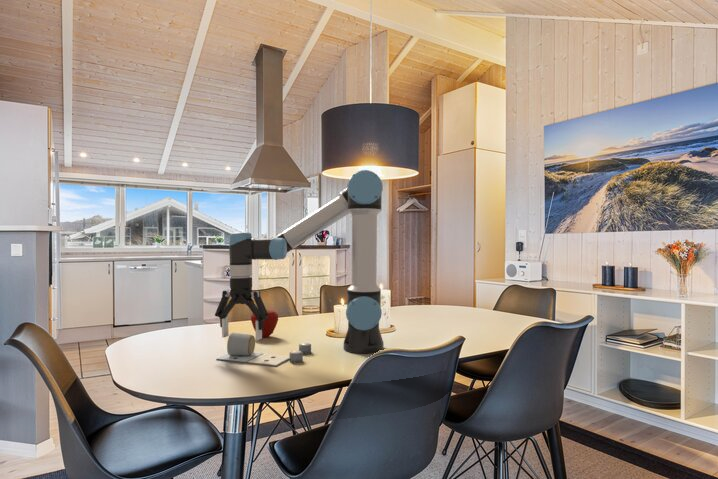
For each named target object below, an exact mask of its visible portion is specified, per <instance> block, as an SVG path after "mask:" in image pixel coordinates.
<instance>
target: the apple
mask: <svg viewBox="0 0 718 479" xmlns="http://www.w3.org/2000/svg"><path fill="white" fill-rule="evenodd" d="M266 310H267V312H268V315H269V317H268V318H266V319H264V329H262V339H265V338H266V339H267V338H269V337H270V336H271V335H272V334H273V333H274V331H275V329H276V327H277V324H278V321H279V314H278V313H277V312H276V311H274V310H270V309H269V310H268V309H266ZM257 320H258V319H257V318H256V317H255V315H254V314H253V313H252V314H251V315H250V321H251V324H252V327H253V330H254V331H255V333H256V321H257Z"/></svg>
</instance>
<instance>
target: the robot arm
mask: <svg viewBox="0 0 718 479" xmlns="http://www.w3.org/2000/svg"><path fill="white" fill-rule="evenodd" d="M383 187H384V186H383V181H382V180H381V177H379V175H378V174H377V173H375V172H374V171H373V170H369V169H362V170H358V171H356V172H354V173H353V174H352V175H351V176H350V177H349V179H348V181H347V184H346V187H345V188H344V189H342V190H341V191H340V192H339V195H338V196H337V197H335V198H334V199H332V200H331V201H329V202H328V203H326V204H324V205H323V206H321V207H320V208H318V209H316V210H314V212H312V213H310V214H308V215H307V216H306V217H304V218H303V219H301V220H300V221H298V222H296V223H295V224H293V225H291V226H290V227H288V228H286V229H285V230H283V231H282V232H280V233H279V234H277V235H275V236H274V237H259V238H258V237H253V236H252V233H251V232H231V233H230V235H229V240H228V241H229V244H228V250H229V252H228V253H229V276H230V278H229V288H230V290H229V289H226V290H225V289H224V290H222V293H221V294H222V295H221V298H220V301H219V304H218V305H217V309H216V311H215V313H214V316H215V317H218V318H219V326H220V328H221V337H222V338H224V339H225V338H228V337H229V336H230V333H229V317H228V315H229V314H230V312H231V310H232V309H233V308H234V307H235V305H239V304H241V305H245V306H246V307H248V308H249V310H250V312H252V314H254V315H255V317H256V318H257V319H258V320H257V321H256V332H255V341H259V340H262V339H263V338H262V329H264V319H266V318H268V317H269V315H268V312H267V310H268V309H266V305H265V303H264V301H263V299H262V296H261V291H260V290H256V291H253V278H252V275H253V261H255V260H266V261H267V260H268V261H270V260H272V261H273V260H274V261H277V260H284V259H286V257H287V255H288V253H289V252H291V251H293V249H295V248H297V247H298V246H300V245H301V244H303V243H305V242H307V241H308V240H309V239H311V238H313V237H315V236H316V235H318V234H319V233H321V232H322V231H324V230H326V229H327V228H329V227H330V226H332V225H333V224H335V223H337V222H338V221H340V220H341V219H343V218H344V217H346V216H348V215H349V214H351V285H349V286H348V288H347V289H346V293H347V294H346V295H347V296H346V310H345V315H346V316H345V317H346V319H347V325H348V326H347V331H346V333H345V337H344V340H343V350H344V351H346V352H349V353H355V354H373V353H378V352H377V351H379V350H382V349H383V350H384V340H383V337H382V334H381V333H382V332H381V331H380V320H381V317H382V315H383V314H382V308H381V303H382V300H381V298H382V297H381V294H382V293H381V292H382V291H381V288H380V287H379V286H378V284H377V269H378V268H377V263H378V262H377V260H378V259H377V258H378V257H377V255H378V254H377V253H378V251H377V250H378V249H377V247H378V245H377V244H378V242H377V241H378V239H377V238H378V215H379V214H380V213H381V212H382V195H383V194H382V192H383V189H384V188H383ZM230 297H231V299H230V300H229V298H230ZM383 350H382V351H383ZM379 352H380V351H379Z"/></svg>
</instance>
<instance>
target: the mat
mask: <svg viewBox="0 0 718 479" xmlns="http://www.w3.org/2000/svg"><path fill="white" fill-rule="evenodd" d="M216 361H219V362H220V361H222V362H230V363H238V364H245V365H246V364H248V365H258V366H266V367H274V368H277V367H279V366H281V365H283V364H284V363H286V362H287V361H290V355H281V354H270V353H262V352H253V353H252V354H251V355H248V356H243V355H229V354H228V353H227V354H224V355H222V356H220V357H218V358H216Z"/></svg>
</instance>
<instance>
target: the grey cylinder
mask: <svg viewBox="0 0 718 479" xmlns="http://www.w3.org/2000/svg"><path fill="white" fill-rule="evenodd" d="M227 338H228V339H227V344H226V345H227V346H226V351H227V354H229V355H243V356H248V355H251V354H252V353H255V352H254V351H255V348H256V336H254V335H252V334H250V333H249V334H248V333H239V332H238V333H237V332H231V333H229V336H228V337H227Z"/></svg>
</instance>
